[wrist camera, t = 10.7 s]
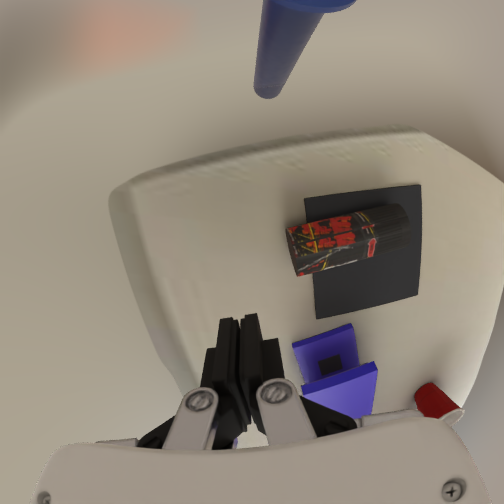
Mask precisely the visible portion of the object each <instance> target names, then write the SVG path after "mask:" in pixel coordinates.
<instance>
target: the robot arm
mask: <svg viewBox="0 0 504 504" xmlns="http://www.w3.org/2000/svg"><path fill="white" fill-rule="evenodd" d="M251 415H252V418H253V421H254V423H255V424H256V425H257V428H258V431H260V432H261V433H263V434H265V435H266V436H267V440H268V443H269V446H263V447H253V448H242V449H236V448H237V444H238V439H237V437H238V436H239V435H240V434H241V433H242V432H247V425H249V424H251ZM443 485H444V486H443ZM30 504H492V502H491V499H490V497H489V494H488V492H487V489H486V487H485V484H484V482H483V480H482V477H481V475H480V473H479V471H478V468H477V466H476V464H475V463H474V461H473V459H472V457H471V455H470V453H469V451H468V450H467V448H466V446H465V445H464V443H463V442H462V440H461V439H460V437H459V436H458V435H457V433H456V432H455V431H454V430H453V429H452V428H451V427H450V426H449V425H448V424H447V423H446V422H444V421H442V420H440V419H436V418H429V417H424V415H423V414H422V413H421V412H420V411H418V410H415V409H406V410H400V411H394V412H387V413H380V414H372V415H363V416H361V418H357V419H353V418H351V417H349V416H348V415H345V414H342V413H340V412H337V411H335V410H333V409H330V408H328V407H325V406H323V405H321V404H318V403H316V402H314V401H311V400H309V399H307V398H305V397H302V396H300V395H299V394H298V392H297V390H296V387H295V385H294V384H293V383H292V382H291V381H289V380H287V379H285V377H284V370H283V364H282V358H281V352H280V347H279V341H278V338H275V339H269V340H263V338H262V334H261V329H260V325H259V320H258V316H257V313H254V314H248V315H245V318H243V319H241V323H240V327H239V323H238V320H233V318H232V317H230V318H223V319H220V323H219V330H218V337H217V344H216V347H215V348H208V349H207V351H206V356H205V362H204V368H203V373H202V379H201V385H200V387H199V388H196V389H193V390H191V391H189V392H188V393H187V394H186V395H185V396H184V397H183V399H182V401H181V404H180V406H179V409H178V411H177V413H176V415H175V416H173V417H172V418H170V419H169V420H168V421H166V422H165V423H163V424H162V425H160V426H158V427H157V428H155V429H154V430H152V431H151V432H149V433H148V434H146V435H145V436H143V437H142V438H141V439H140V440H138V439H137V438H132V439H122V440H109V441H98V442H96V443H75V444H68V445H65V446H62V447H60V448H58V449H56V450H55V451H54V453H53V454H52V455H51V456H50V458H49V460H48V461H47V463H46V465H45V466H44V468H43V471H42V473H41V475H40V477H39V480H38V482H37V484H36V487H35V489H34V492H33V495H32V498H31V501H30Z"/></svg>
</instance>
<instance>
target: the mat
mask: <svg viewBox="0 0 504 504" xmlns="http://www.w3.org/2000/svg"><path fill="white" fill-rule="evenodd" d="M304 201H305V209H306V217H307V224H308V223H312V222H316V221H320V220H324V219H329V218H333V217H337V216H341V215H346V214H350V213H354V212H359V211H363V210H367V209H372V208H376V207H381V206H385V205H389V204H394V203H397V204H400V205H401V206H402V207H403V209H404V210H405V212H406V214H407V216H408V218H409V221H410V226H411V240H410V243H409V245H408V246H407V247H405V248H401V249H398V250H394V251H391V252H387V253H384V254H380V255H377V256H373V257H370V258H366V259H363V260H359V261H355V262H352V263H348V264H344V265H340V266H337V267H333V268H329V269H325V270H321V271H318V272H314V273H313V284H314V296H315V310H316V319H321V318H326V317H331V316H336V315H340V314H345V313H349V312H354V311H358V310H362V309H367V308H371V307H375V306H379V305H383V304H387V303H390V302H394V301H398V300H402V299H405V298H409V297H412V296H416V295H418V288H419V277H420V264H421V244H422V198H421V185H411V186H401V187H391V188H382V189H373V190H364V191H356V192H348V193H340V194H333V195H325V196H318V197H311V198H304Z"/></svg>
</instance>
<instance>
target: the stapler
mask: <svg viewBox="0 0 504 504" xmlns="http://www.w3.org/2000/svg"><path fill="white" fill-rule="evenodd" d="M292 347H293V350H294V353H295V356H296V358H297V361H298V364H299V367H300V369H301V372H302V375H303V378H304V381H305V383H306V384H305V385H303V386H301V388H302V392H303V396H304V397H305V398H307V399H309V400H311V401H314V402H316V403H318V404H321V405H323V406H325V407H328V408H330V409H333V410H335V411H337V412H340V413H342V414H345V415H348V416H349V417H351V418H353V419H357V418H361V416H363V415H371V411H372V406H373V400H374V393H375V387H376V380H377V372H378V369H377V367H376V365H375V363H374V361H372V362H370V363H365V364H362V365H359V358H358V352H357V346H356V340H355V334H354V329H353V326H352V324H351V323H350V324H347V325H344V326H342V327H339V328H336V329H333V330H331V331H328V332H325V333H322V334H319V335H316V336H314V337H311V338H308V339H305V340H302V341H298V342H295V343H292Z"/></svg>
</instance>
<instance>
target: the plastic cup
mask: <svg viewBox="0 0 504 504" xmlns="http://www.w3.org/2000/svg"><path fill="white" fill-rule="evenodd" d="M414 398H415V402H416V405H417V409H418V411H420V412H421V413H422V414H423V415H424V417H429V418H436V419H440V420H442V421H444V422H446V423H447V424H448V425H449V426H450V427H452V426H453V425H455V424H456V423H457V422H458V420H460V419H461V418H462V416H463V414H464V409H462V408H460V407H459V406H458V405H457V404H456V403H454V402H453V401H452V400H451V399H450V398H449V397H448V396H447V395H446V394H445V393H444V392H443V391H442V390H440V389H439V388H438V387H437V386H436V385H435V384H434V383H427V384H425V385H423V386H422V387H421V388H420V389H419V390H418V391H417V392H416V393H415V396H414Z"/></svg>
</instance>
